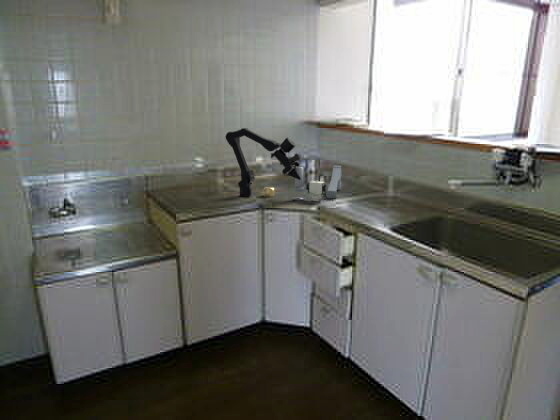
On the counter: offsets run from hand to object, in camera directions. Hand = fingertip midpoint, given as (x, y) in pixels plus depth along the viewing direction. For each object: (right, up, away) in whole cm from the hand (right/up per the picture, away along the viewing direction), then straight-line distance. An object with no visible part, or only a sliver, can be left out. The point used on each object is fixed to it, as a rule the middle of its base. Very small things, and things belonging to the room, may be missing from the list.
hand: (301, 178), depth 219 cm
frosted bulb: (-1, -6, +2) cm, 7 cm away
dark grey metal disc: (-1, -12, +3) cm, 12 cm away
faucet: (+22, -8, +20) cm, 31 cm away
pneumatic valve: (+9, -13, +1) cm, 16 cm away
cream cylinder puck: (-19, -9, +13) cm, 25 cm away
